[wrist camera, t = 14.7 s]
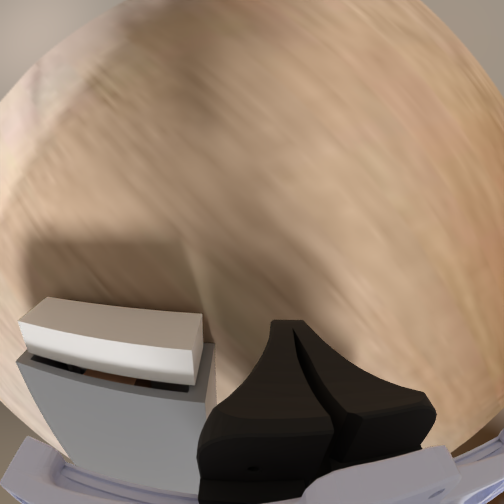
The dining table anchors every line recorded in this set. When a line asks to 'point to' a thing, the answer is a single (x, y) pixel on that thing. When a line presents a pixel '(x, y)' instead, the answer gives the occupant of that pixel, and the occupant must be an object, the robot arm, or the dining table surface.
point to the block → (118, 378)
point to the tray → (117, 340)
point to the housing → (125, 422)
